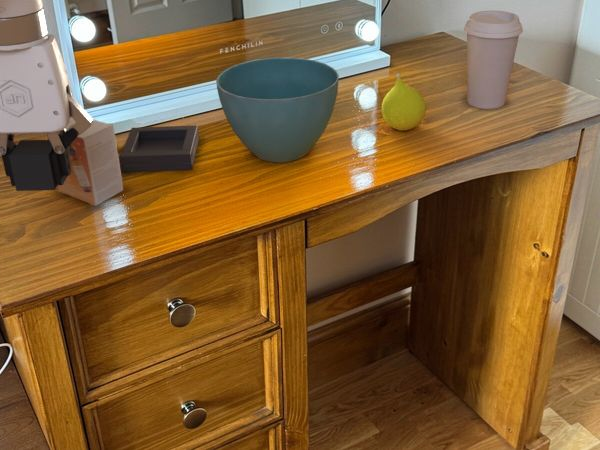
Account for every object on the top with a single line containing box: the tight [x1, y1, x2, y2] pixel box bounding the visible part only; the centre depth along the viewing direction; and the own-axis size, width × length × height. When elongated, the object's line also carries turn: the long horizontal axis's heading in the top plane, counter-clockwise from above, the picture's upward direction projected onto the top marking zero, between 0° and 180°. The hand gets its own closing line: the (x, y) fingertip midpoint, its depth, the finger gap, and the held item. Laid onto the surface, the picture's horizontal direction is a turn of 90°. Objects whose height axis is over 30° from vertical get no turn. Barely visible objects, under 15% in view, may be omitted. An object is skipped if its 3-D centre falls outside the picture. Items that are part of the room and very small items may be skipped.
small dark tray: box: [119, 124, 200, 173], centre depth 119 cm, size 11×11×3 cm
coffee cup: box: [463, 10, 524, 110], centre depth 131 cm, size 10×10×15 cm
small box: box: [46, 117, 124, 207], centre depth 108 cm, size 8×6×10 cm
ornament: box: [380, 66, 427, 131], centre depth 124 cm, size 7×7×10 cm
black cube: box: [9, 139, 58, 192], centre depth 90 cm, size 4×4×4 cm
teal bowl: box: [215, 57, 340, 163], centre depth 117 cm, size 18×18×12 cm
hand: (40, 179), depth 91 cm, fingers closed on black cube, 4 cm apart
